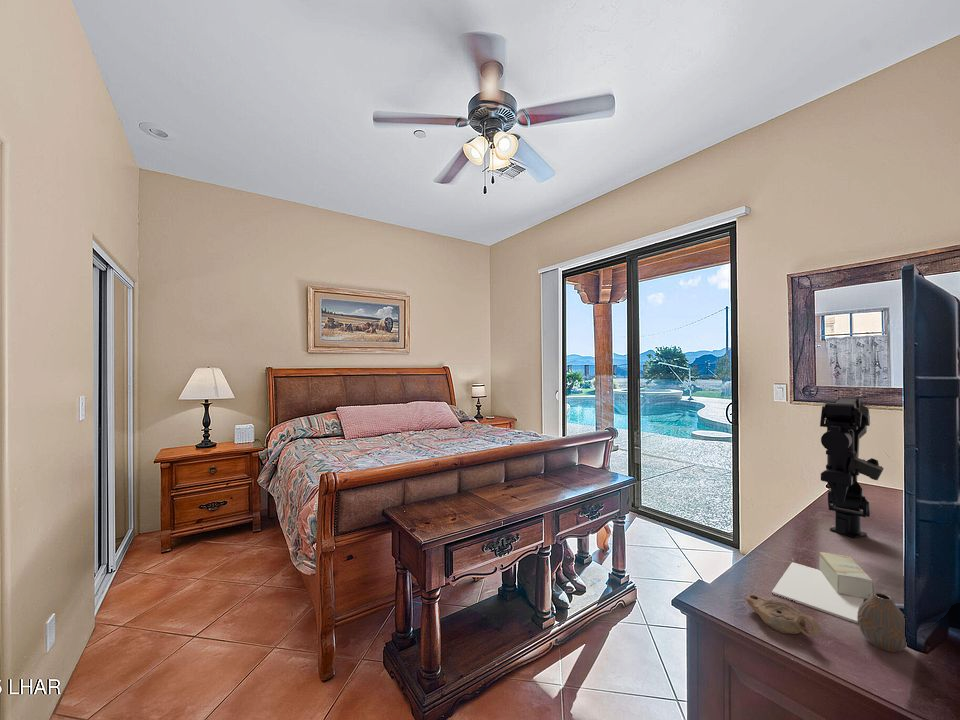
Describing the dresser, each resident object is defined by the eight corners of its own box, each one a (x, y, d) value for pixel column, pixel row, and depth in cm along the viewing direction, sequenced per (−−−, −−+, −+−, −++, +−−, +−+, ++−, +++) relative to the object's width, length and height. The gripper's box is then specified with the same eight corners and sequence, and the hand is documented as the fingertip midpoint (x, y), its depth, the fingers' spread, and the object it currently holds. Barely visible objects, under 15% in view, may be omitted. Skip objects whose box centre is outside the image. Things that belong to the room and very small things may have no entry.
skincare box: (850, 556, 98) (875, 580, 86) (850, 575, 97) (875, 601, 86) (817, 551, 100) (837, 573, 89) (818, 569, 100) (837, 594, 89)
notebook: (792, 564, 103) (792, 562, 103) (867, 586, 93) (867, 584, 93) (771, 593, 90) (771, 591, 90) (857, 623, 80) (857, 621, 80)
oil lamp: (737, 610, 84) (736, 586, 84) (765, 604, 86) (765, 581, 86) (801, 653, 72) (800, 625, 72) (832, 646, 73) (832, 618, 73)
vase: (922, 660, 70) (921, 609, 70) (875, 655, 71) (874, 604, 71) (890, 634, 76) (890, 587, 77) (848, 629, 78) (847, 583, 78)
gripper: (877, 457, 101) (878, 519, 101) (883, 447, 114) (884, 503, 114) (820, 450, 110) (820, 508, 109) (831, 442, 122) (832, 494, 122)
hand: (841, 503), depth 113 cm, fingers closed
